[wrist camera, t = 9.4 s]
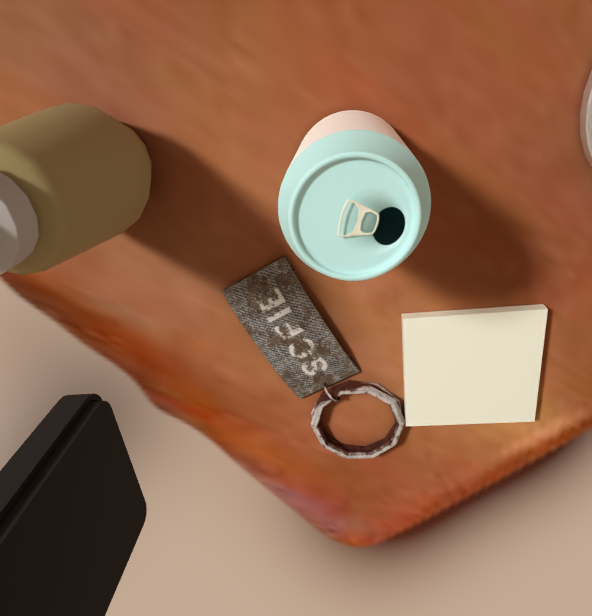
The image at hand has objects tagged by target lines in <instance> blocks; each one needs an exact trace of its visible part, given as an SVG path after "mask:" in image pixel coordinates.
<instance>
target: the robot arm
mask: <svg viewBox="0 0 592 616" xmlns="http://www.w3.org/2000/svg"><path fill="white" fill-rule="evenodd" d="M580 136H581V140H582V145H583V149H584V153H585V155H586V157H587V159H588V161H589V163H590V165H591V167H592V70H591V73H590V76H589V79H588V81H587V84H586V87H585V90H584V93H583V99H582V105H581V111H580ZM145 518H146V502H145V499H144V497H143V494H142V491H141V488H140V485H139V483H138V480H137V477H136V474H135V472H134V469H133V466H132V463H131V460H130V458H129V455H128V452H127V449H126V447H125V444H124V441H123V438H122V435H121V433H120V430H119V427H118V424H117V422H116V419H115V416H114V413H113V410H112V408H111V406H110V404H109V403H108V402H107V401H102V399H101V397H100V396H99V395H97V394H80V395H67V396H64V397H62V398H61V399H60V400H59V401H58V402H57V404H56V405H55V406H54V407H53V408H52V409H51V411H50V412H49V413H48V414H47V415H46V417H45V418H44V419H43V420H42V421H41V423H40V424H39V425H38V426H37V428H36V429H35V430H34V431H33V432H32V433H31V435H30V436H29V437H28V438H27V440H26V441H25V442H24V443H23V444H22V445H21V447H20V448H19V449H18V451H17V452H16V453H15V454H14V455H13V456H12V458H11V459H10V460H9V461H8V462H7V464H6V465H5V466H4V467H3V468H2V470H1V471H0V616H105V614H106V612H107V609H108V607H109V605H110V602H111V600H112V598H113V595H114V593H115V591H116V588H117V586H118V584H119V581H120V579H121V576H122V574H123V572H124V569H125V567H126V565H127V562H128V560H129V558H130V555H131V553H132V551H133V548H134V546H135V544H136V541H137V539H138V536H139V534H140V532H141V529H142V527H143V525H144V522H145Z"/></svg>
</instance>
